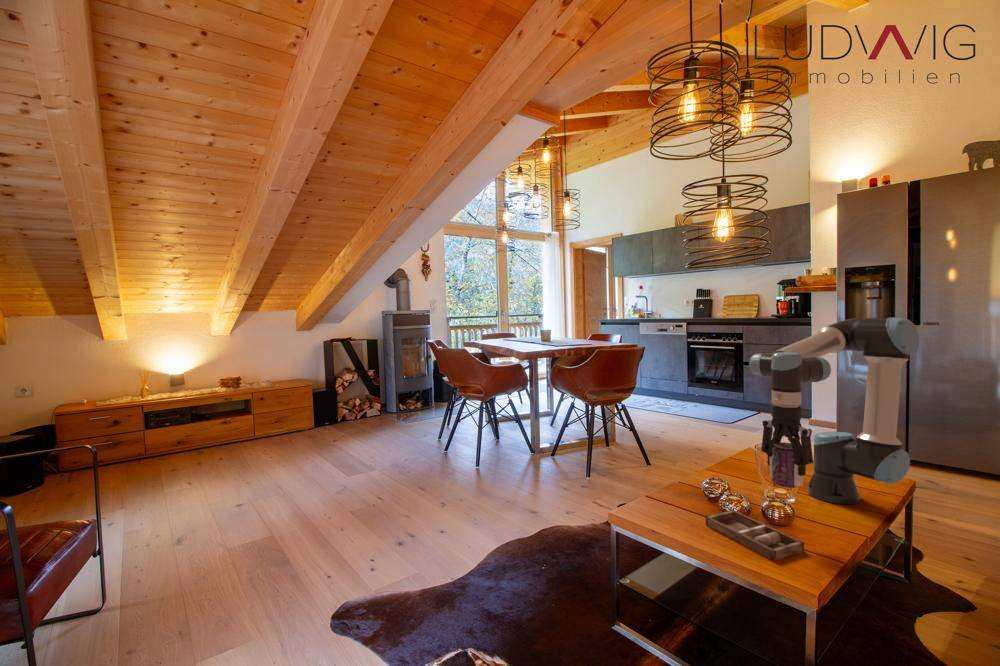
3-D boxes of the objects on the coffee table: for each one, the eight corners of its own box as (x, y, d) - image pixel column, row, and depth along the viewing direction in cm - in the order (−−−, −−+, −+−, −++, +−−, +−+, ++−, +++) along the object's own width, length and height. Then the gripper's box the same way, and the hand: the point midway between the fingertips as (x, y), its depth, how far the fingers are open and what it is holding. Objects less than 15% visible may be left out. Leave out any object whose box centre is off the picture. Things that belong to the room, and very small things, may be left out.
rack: (733, 520, 148) (733, 510, 148) (803, 554, 127) (804, 542, 127) (705, 527, 144) (705, 516, 144) (773, 564, 122) (773, 551, 122)
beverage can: (774, 479, 141) (774, 440, 140) (801, 483, 136) (801, 444, 136) (770, 486, 135) (770, 446, 135) (798, 491, 131) (798, 450, 130)
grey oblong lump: (772, 542, 133) (769, 531, 134) (782, 543, 130) (779, 532, 131) (755, 547, 130) (752, 536, 131) (764, 548, 128) (761, 537, 128)
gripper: (747, 400, 143) (747, 472, 144) (811, 412, 124) (811, 495, 125) (764, 398, 146) (764, 469, 147) (829, 409, 127) (829, 491, 128)
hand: (786, 481), depth 136 cm, fingers closed on beverage can, 7 cm apart
